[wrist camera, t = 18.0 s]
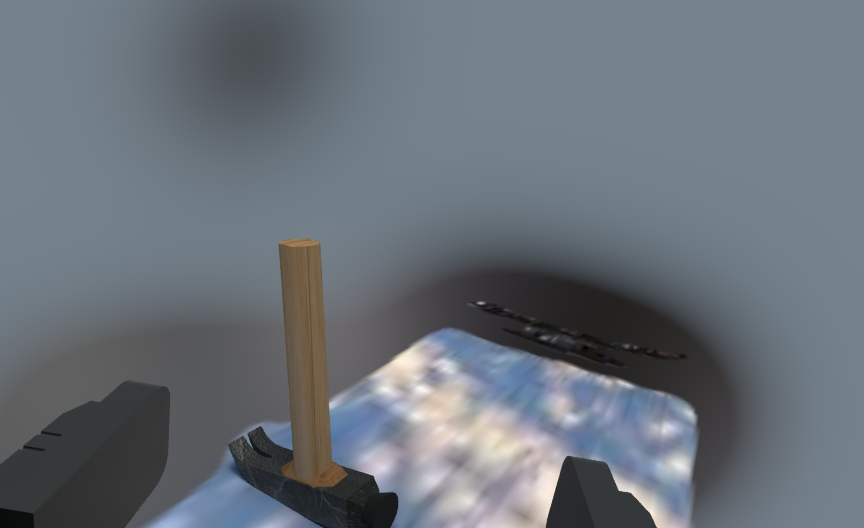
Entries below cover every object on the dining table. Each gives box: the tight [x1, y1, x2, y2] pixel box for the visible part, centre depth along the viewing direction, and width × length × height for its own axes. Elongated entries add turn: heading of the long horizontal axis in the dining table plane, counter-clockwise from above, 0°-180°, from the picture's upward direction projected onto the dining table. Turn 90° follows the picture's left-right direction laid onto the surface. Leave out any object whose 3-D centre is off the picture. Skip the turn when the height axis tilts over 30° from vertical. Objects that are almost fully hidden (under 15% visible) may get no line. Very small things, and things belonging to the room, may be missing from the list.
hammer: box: [228, 239, 398, 528], centre depth 59 cm, size 20×5×30 cm, turn 61°
